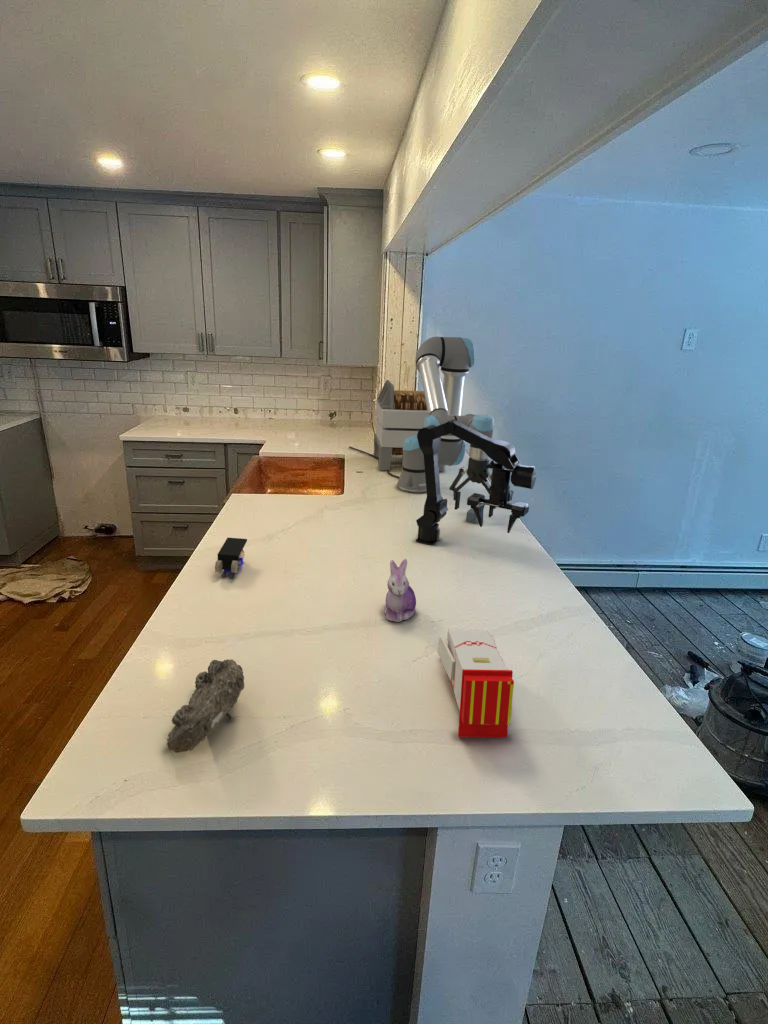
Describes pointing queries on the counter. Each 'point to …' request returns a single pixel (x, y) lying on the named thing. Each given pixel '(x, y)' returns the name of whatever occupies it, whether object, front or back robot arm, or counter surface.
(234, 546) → the figurine character
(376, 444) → the transformer
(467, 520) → the block
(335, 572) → the counter surface
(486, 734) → the toy
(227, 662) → the fossil
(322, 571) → the counter surface
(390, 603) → the figurine
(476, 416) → the back robot arm
